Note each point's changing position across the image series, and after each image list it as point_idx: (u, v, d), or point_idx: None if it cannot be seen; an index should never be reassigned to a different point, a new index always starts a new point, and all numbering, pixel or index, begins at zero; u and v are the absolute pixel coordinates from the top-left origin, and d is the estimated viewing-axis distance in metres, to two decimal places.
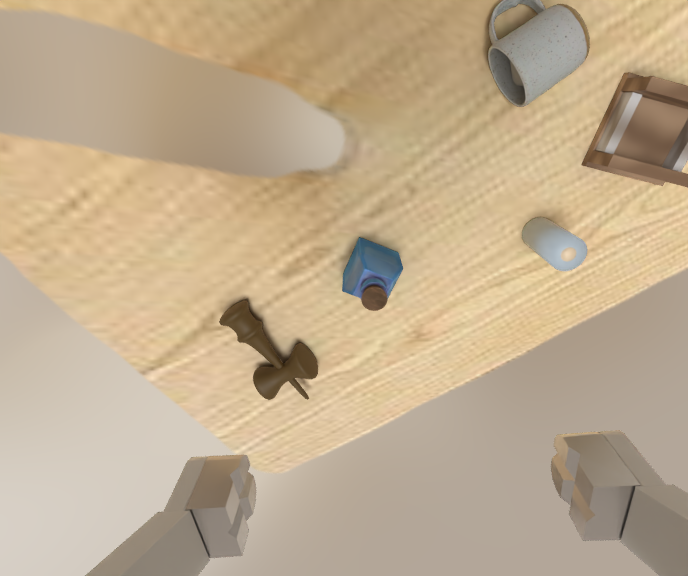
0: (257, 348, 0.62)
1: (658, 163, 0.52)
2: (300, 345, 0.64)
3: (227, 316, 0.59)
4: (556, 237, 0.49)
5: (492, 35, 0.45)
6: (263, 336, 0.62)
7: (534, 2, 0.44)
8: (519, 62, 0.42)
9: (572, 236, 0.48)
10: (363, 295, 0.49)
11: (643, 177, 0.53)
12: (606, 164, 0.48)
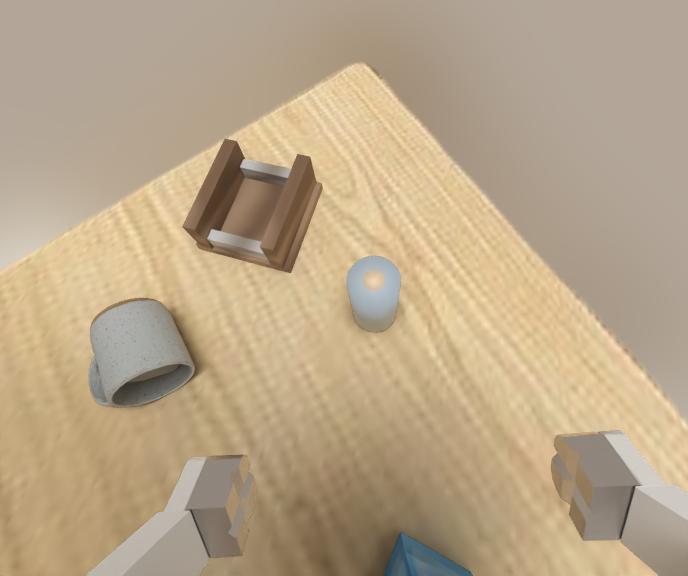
0: None
1: None
2: None
3: None
4: (352, 299, 0.34)
5: None
6: None
7: None
8: (116, 381, 0.33)
9: None
10: None
11: (309, 204, 0.45)
12: (272, 251, 0.39)
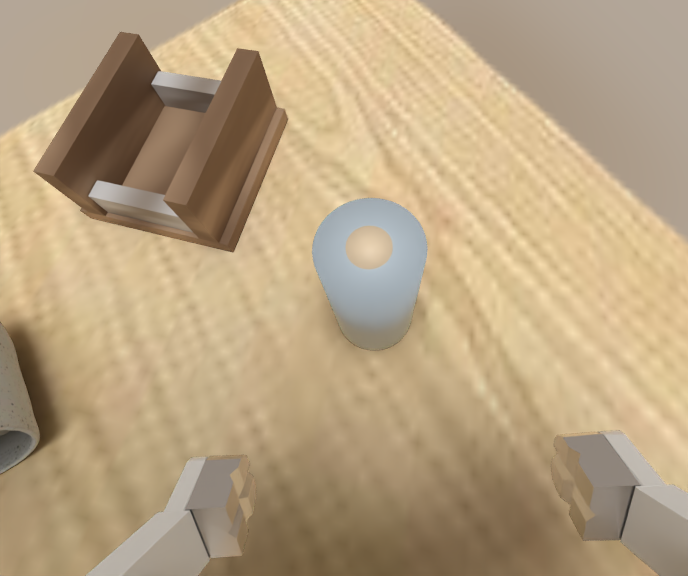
0: None
1: None
2: None
3: None
4: (325, 288, 0.16)
5: None
6: None
7: None
8: None
9: None
10: None
11: (264, 141, 0.28)
12: (186, 208, 0.21)
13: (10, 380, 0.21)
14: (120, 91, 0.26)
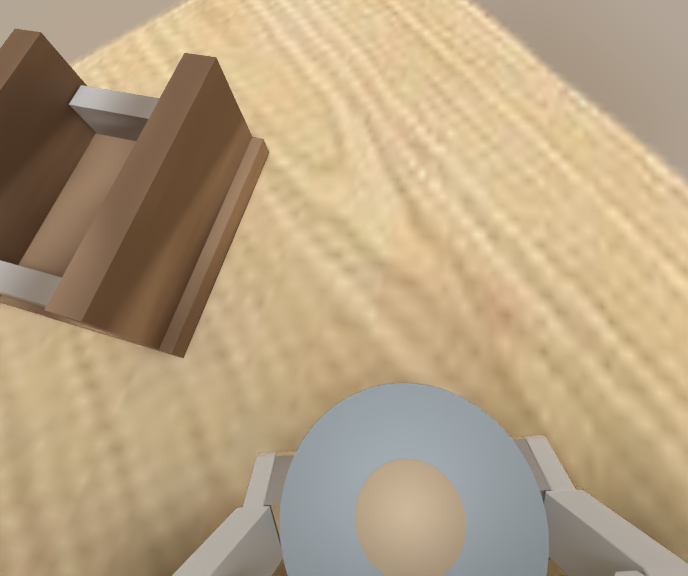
0: None
1: None
2: None
3: None
4: None
5: None
6: None
7: None
8: None
9: None
10: None
11: (233, 188, 0.19)
12: (84, 322, 0.13)
13: None
14: (11, 118, 0.17)
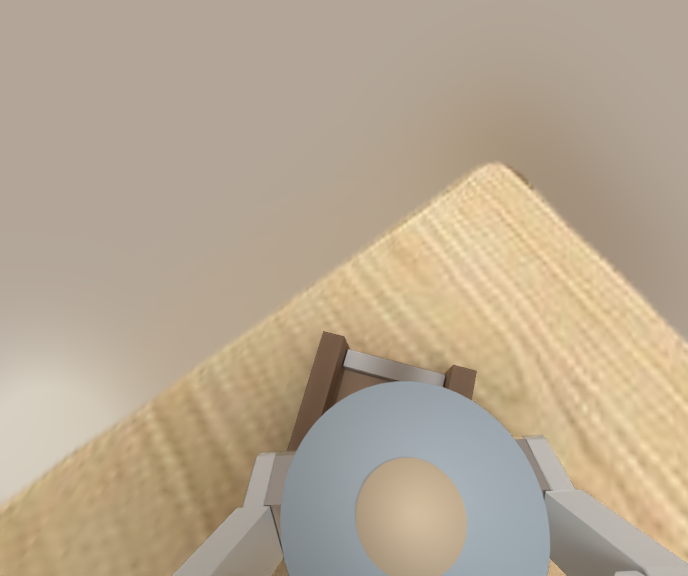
0: None
1: None
2: None
3: None
4: None
5: None
6: None
7: None
8: None
9: None
10: None
11: None
12: None
13: None
14: (329, 397, 0.26)
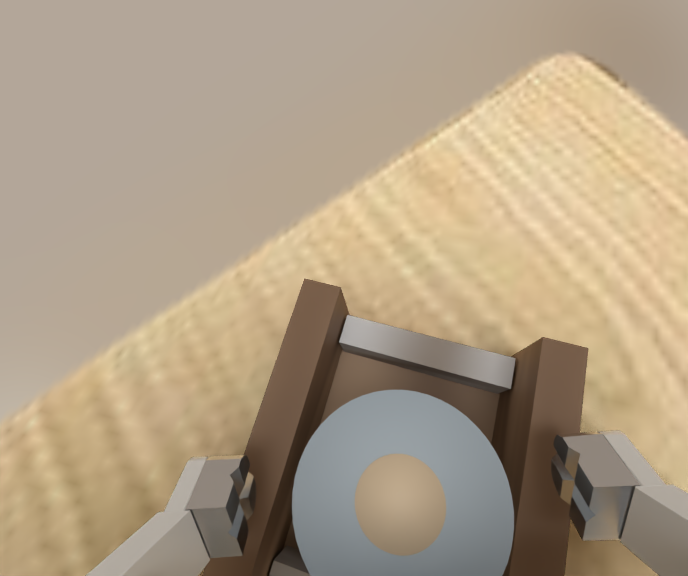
0: None
1: (486, 406, 0.17)
2: None
3: None
4: None
5: None
6: None
7: None
8: None
9: None
10: None
11: None
12: None
13: None
14: (312, 395, 0.14)
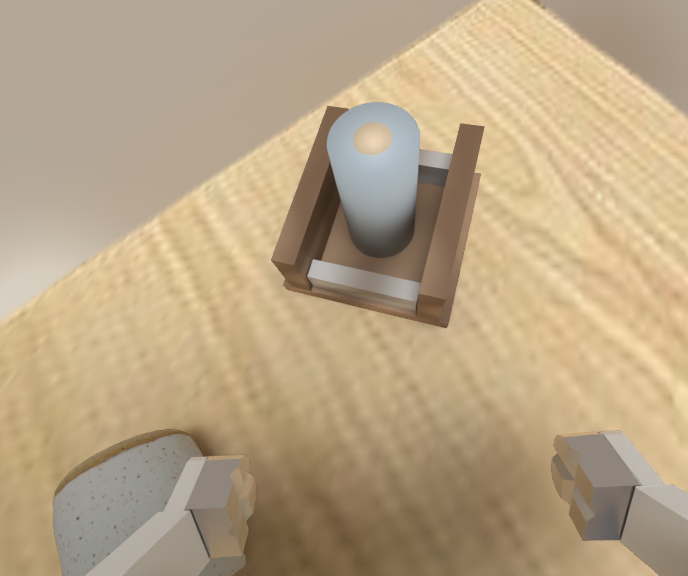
0: None
1: (438, 194, 0.28)
2: None
3: None
4: (337, 178, 0.20)
5: None
6: None
7: None
8: None
9: None
10: None
11: (466, 210, 0.27)
12: (441, 301, 0.21)
13: None
14: None
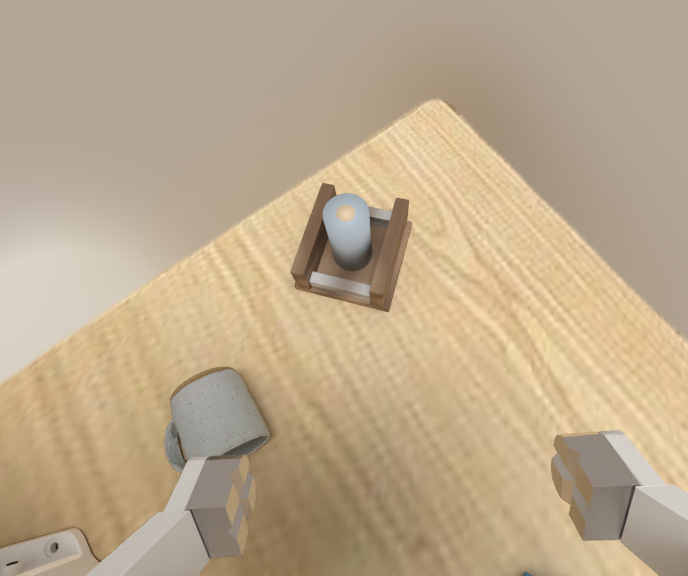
0: None
1: None
2: None
3: None
4: (327, 231, 0.39)
5: None
6: None
7: (174, 422, 0.41)
8: None
9: None
10: None
11: (402, 243, 0.46)
12: (381, 295, 0.40)
13: (257, 408, 0.39)
14: None
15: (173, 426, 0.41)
